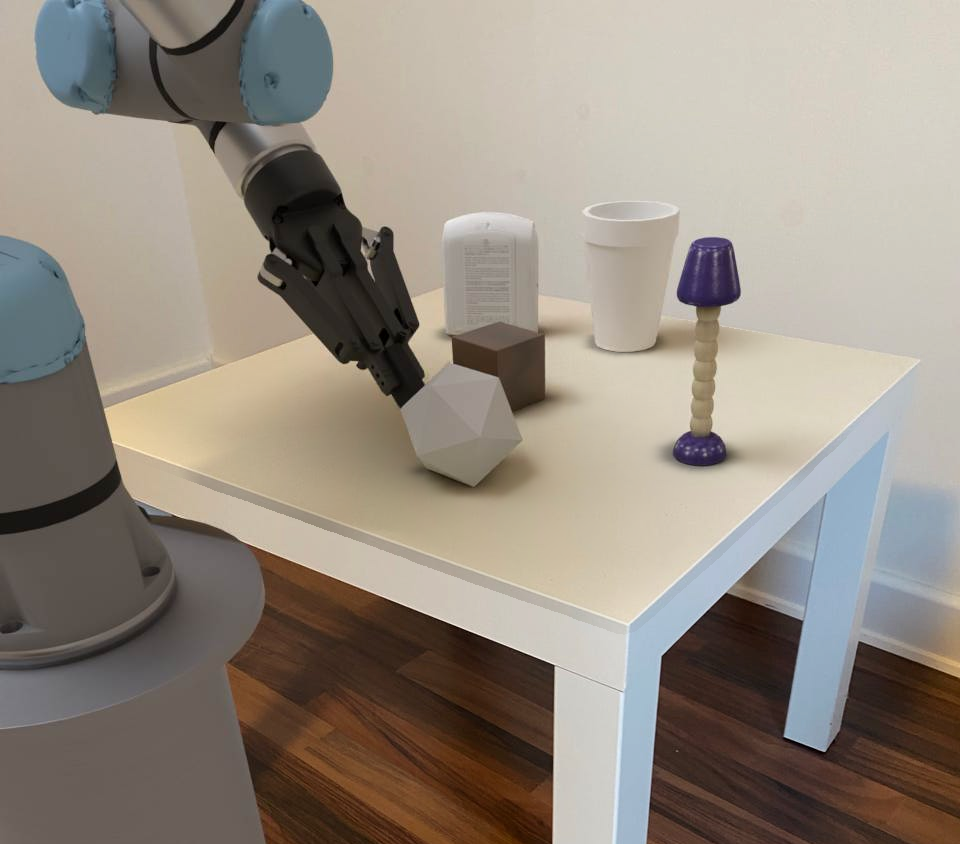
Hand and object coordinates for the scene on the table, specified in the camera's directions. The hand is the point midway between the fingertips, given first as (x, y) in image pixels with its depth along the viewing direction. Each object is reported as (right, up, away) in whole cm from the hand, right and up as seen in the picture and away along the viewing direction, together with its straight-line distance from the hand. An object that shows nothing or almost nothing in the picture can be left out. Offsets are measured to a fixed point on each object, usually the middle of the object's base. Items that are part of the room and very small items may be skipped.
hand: (426, 421), depth 82 cm
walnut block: (+6, +5, +12) cm, 14 cm away
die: (+3, -4, -1) cm, 5 cm away
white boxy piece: (+6, +16, +28) cm, 33 cm away
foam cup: (+20, +13, +24) cm, 34 cm away
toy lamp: (+22, -3, 0) cm, 22 cm away
